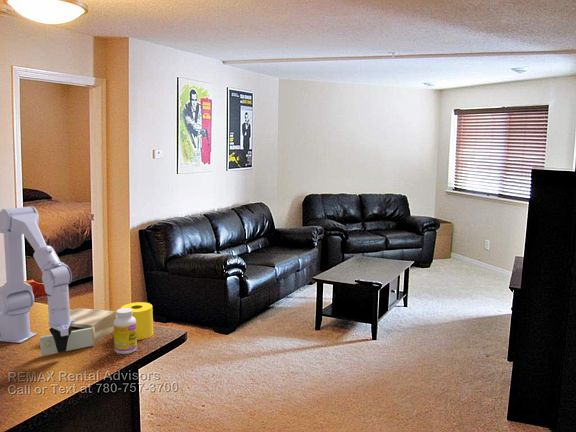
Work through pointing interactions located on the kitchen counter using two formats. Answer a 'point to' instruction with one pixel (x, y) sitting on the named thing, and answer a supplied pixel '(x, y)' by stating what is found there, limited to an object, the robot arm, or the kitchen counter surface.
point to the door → (69, 341)
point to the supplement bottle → (125, 331)
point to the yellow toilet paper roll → (142, 318)
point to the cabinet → (93, 321)
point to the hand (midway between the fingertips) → (61, 351)
